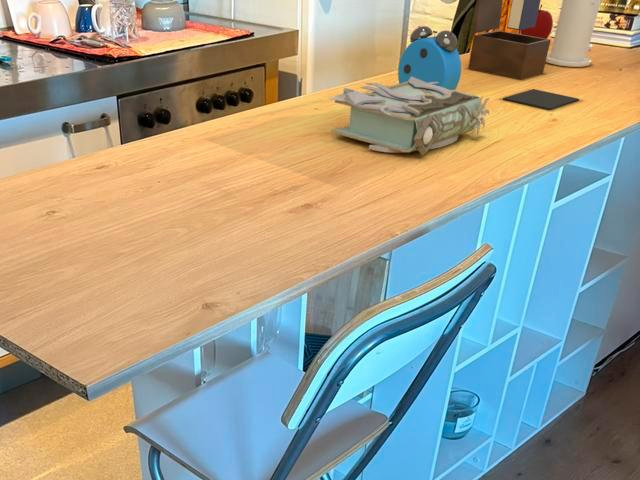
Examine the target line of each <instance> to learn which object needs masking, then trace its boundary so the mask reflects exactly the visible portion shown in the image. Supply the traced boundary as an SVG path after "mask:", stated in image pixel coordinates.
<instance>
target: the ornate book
mask: <svg viewBox="0 0 640 480" xmlns="http://www.w3.org/2000/svg"><path fill="white" fill-rule="evenodd" d="M436 83H439V82H430V83H427V82H424V81H422V80H419V79H417V78H414V77H412V76H411V78H410V79H409V80H408V81H407V82H403V83H400V84H399V83H398V84H393V85H388V86H385V85H383V84H380V83H376V82H365V85H363V86H360V89H363V90H367V91H371V92H360V91H358V90H354V89H351V88H347V87H344V88H343V91H342V93H341V94H336V95H335V96H331V97H327V99H329V100H333V101H334V103H335V104H339V105H342V106H343V105H344V106H348V107H350V114H349V123H348V126H345V127H341V128H337V129H332V130H331V133H332V134H335V135H338V136H342V137H345V138H350V139H354V140H358V141H361V142H364V143H368V144H369V145H368V149H369V150H371V151H372V150H373V151H377V152H382V153H402V154H403V153H414V152H417V151H418V153H419V155H421V157H423V156H424V155H425V154H427V153H428V151H429V150H433V149H439V148H442V147H446V146H448V145H451V144H453V143H455V142H457V141H458V139H459V136H460V135H463V134H466V133H469V132H470V133H469V134H468V136H472V135H473V134H474V133H475V131H476V130H477V131H476V134H475V137H474V139H476V138H477V137H478V135H479V133H480V128H481V125H482V131H484V130H485V126H486V120H485V118H484V117H486V115H487V114H488V115H490V110H489V109H487V108H486V106H487V102H488V101H489V100H491V99H490V98H489V97H487V98H486V99H485V100H484V101H483V102H482V100H483V98H484V95H482V96H481V97H480V96H478V95H476V94H470V93H467V92H463V91H461V90H459V89H458V90H457V89H455V90H448V89H446V88H443V87H440V86H436V85H432V84H436ZM483 116H484V117H483Z"/></svg>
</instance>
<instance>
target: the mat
mask: <svg viewBox="0 0 640 480" xmlns="http://www.w3.org/2000/svg"><path fill="white" fill-rule="evenodd" d="M502 100H503V101H506V102H507V101H508V102H512V103H517V104H521V105H524V106H529V107H534V108H539V109H542V110H548V111H551V110H554V109H557V108H560V107H563V106H566V105H569V104H572V103H575V102H579V101H580V98H578V97H573V96H569V95H563V94H559V93H554V92H550V91H544V90H540V89H535V88H533V89H528V90H525V91H522V92H519V93H515V94H511V95H508V96H505V97H503V98H502Z"/></svg>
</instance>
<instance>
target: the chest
mask: <svg viewBox="0 0 640 480" xmlns="http://www.w3.org/2000/svg"><path fill="white" fill-rule="evenodd" d="M551 41H552V39H549V38H547V39H544V38H539V37H533V36H527V35H522V34H521V33H515V32H509V31H504V30H499V29H496V30H491V31H488V32H487V31H486V32H481V33H476V34H474V35H473V39H472V44H471V50H470V56H469V61H468V67H467V69H468V70H472V71H477V72H481V73H486V74H491V75H496V76H501V77H506V78H511V79H515V80H518V81H519V80H525V79H527V78H531V77H535V76H539V75H543V74H544V72H545V71H544V70H545V67H546V63H547V62H546V58H547V54H549V49H550V44H551Z"/></svg>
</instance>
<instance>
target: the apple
mask: <svg viewBox="0 0 640 480" xmlns="http://www.w3.org/2000/svg"><path fill="white" fill-rule="evenodd" d="M542 7H543V4H540V6H539V10H538V15H537V20H536V25H535V27H531V28H527V29H523V30H520V34H522V35H527V36H533V37H539V38H544V39H549V37H550V35H551V33H552V30H553V26H554V20H553V16H552V14H551V12H549V10H544V9H542Z"/></svg>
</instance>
